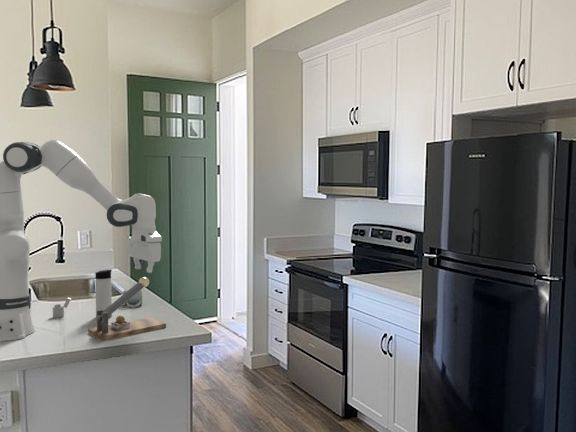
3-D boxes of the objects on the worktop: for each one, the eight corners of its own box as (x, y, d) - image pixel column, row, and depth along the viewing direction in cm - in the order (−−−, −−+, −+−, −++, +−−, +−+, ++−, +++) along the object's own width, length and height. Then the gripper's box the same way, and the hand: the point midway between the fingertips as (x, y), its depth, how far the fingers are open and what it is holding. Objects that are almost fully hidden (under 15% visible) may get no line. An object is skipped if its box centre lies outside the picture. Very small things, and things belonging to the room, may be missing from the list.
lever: (104, 324, 193) (98, 316, 191) (99, 322, 196) (93, 314, 194) (152, 283, 205) (147, 275, 203) (147, 282, 208) (142, 274, 206)
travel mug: (107, 319, 216) (106, 271, 214) (93, 318, 217) (92, 270, 216) (115, 315, 222) (114, 268, 220) (101, 314, 223) (100, 268, 222)
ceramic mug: (123, 303, 244) (122, 287, 243) (141, 301, 247) (141, 285, 246) (124, 309, 234) (124, 292, 233) (143, 307, 237) (143, 290, 236)
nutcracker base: (101, 340, 188) (101, 316, 187) (88, 333, 197) (87, 309, 196) (166, 327, 206) (165, 304, 205) (151, 320, 214) (151, 299, 214)
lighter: (52, 317, 218) (52, 298, 217) (53, 316, 219) (52, 298, 219) (71, 316, 220) (70, 297, 219) (71, 315, 222) (71, 296, 221)
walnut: (118, 325, 197) (118, 317, 197) (114, 323, 199) (114, 315, 199) (126, 324, 199) (126, 315, 199) (122, 322, 201) (122, 314, 201)
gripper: (124, 233, 209) (124, 267, 210) (148, 238, 194) (148, 275, 195) (138, 232, 213) (138, 266, 214) (164, 237, 198) (163, 273, 199)
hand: (143, 270), depth 204 cm, fingers open, 8 cm apart
